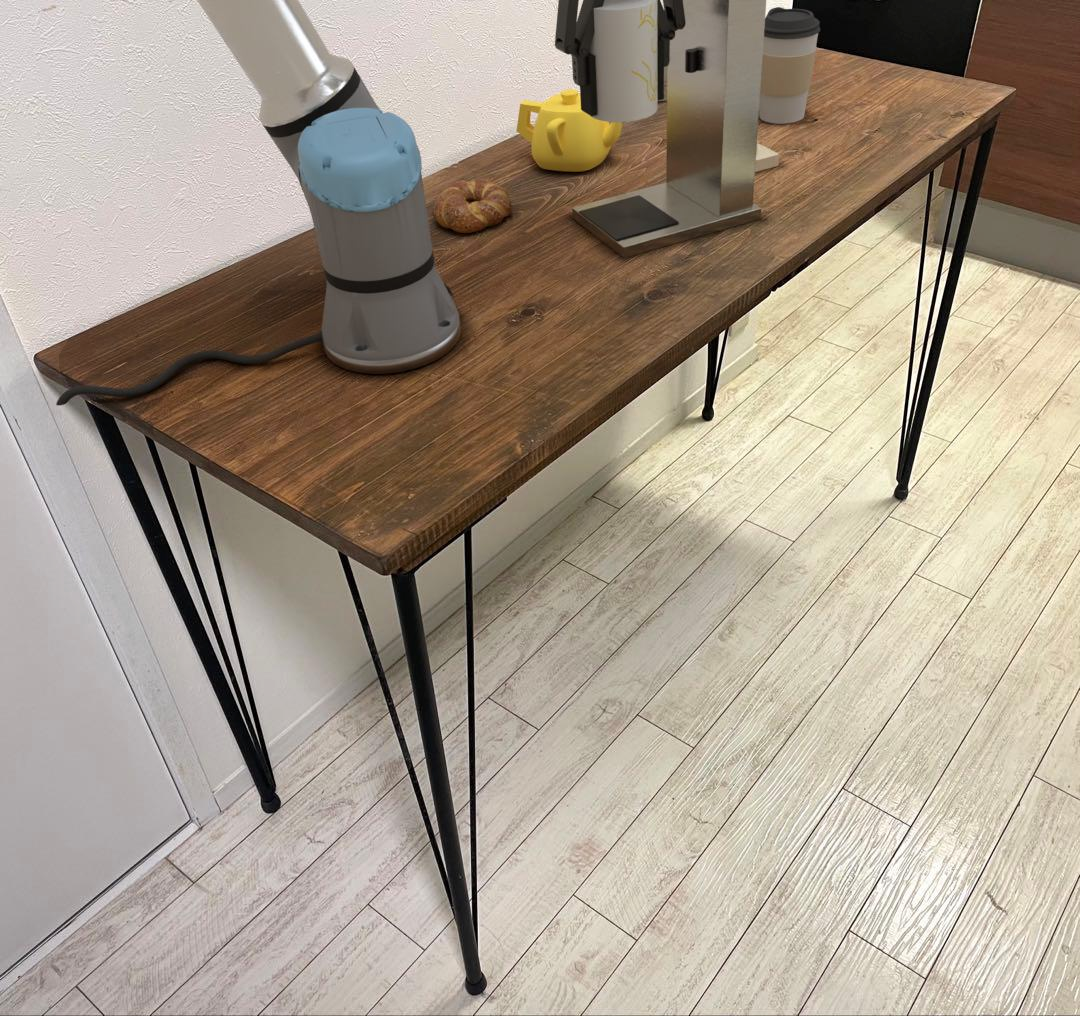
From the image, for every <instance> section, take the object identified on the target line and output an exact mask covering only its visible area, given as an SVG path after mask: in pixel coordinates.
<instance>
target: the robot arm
mask: <svg viewBox="0 0 1080 1016" xmlns="http://www.w3.org/2000/svg"><path fill="white" fill-rule="evenodd" d="M196 1H197V3H198V4H199V5H200V8H201V9H202V10H203V12H204V14H205V15H206V16H207V18H208V19H209V21H210V22H211V24H212V25H213V27H214V28H215V30H216V31H217V33H218V34H219V36H220V37H221V39H222V40H223V42H224V43H225V45H226V46H227V48H228V49H229V51H230V52H231V54H232V55H233V57H234V58H235V60H236V61H237V63H238V65H239V67H240V68H241V69H242V70H243V72H244V73H245V75H246V77H247V78H248V79H249V81H250V82H251V85H252V86H253V87H254V88H255V90H256V92H257V93H258V95H259V96H260V98H261V100H260V101H261V103H260V108H259V115H258V119H259V121H260V123H261V124H262V127H263V128H264V129H265V131H266V132H267V134H268V135H269V137H270V138H271V140H272V141H273V143H274V145H276V147H277V149H278V150H279V152H280V153H281V154H282V156H283V158H284V159H285V161H286V162H287V164H288V165H289V167H290V168H291V170H292V171H293V174H294V175H295V176H296V178H297V180H298V183H299V186H300V187H301V190H302V193H303V196H304V199H305V200H306V203H307V206H308V208H309V209H308V210H309V212H310V216H311V219H312V224H313V227H314V232H315V236H316V241H317V245H318V250H319V254H320V255H319V256H320V259H321V262H322V263H321V264H322V267H323V272H324V276H325V281H326V288H325V290H326V291H325V296H324V306H323V313H322V322H321V331H319V332H316V333H314V334H312V335H308V336H306V337H305V336H304V337H302V338H300V339H297V340H295V341H291V342H290V343H287V344H285V345H282V346H280V347H278V348H276V349H273V350H271V351H269V352H267V353H266V352H265V353H263V354H258V355H242V354H237V353H233V352H229V351H223V350H214V349H213V350H212V349H210V350H203V351H198V352H194V353H191V354H188V355H186V356H184V357H182V358H180V359H179V360H177V361H175V362H173V364H171V365H170V366H169V367H168V368H166V369H165V370H164V371H163V372H162V373H160V374H159V375H157V376H156V377H155V378H153V379H152V380H151V379H150V381H148V382H145V383H142V384H140V385H138V386H137V385H136V386H133V387H109V386H101V385H89V384H87V385H78V386H74V387H72V388H71V387H70V388H69V389H67V390H66V391H64V392H63V393H62V394H61V395H60V396H59V397H58V399H57V400H56V406H59V407H60V406H64V405H66V404H68V402H69V401H70V400H72V399H73V398H74V397H77V396H79V395H98V396H105V397H116V398H117V397H118V398H119V397H120V398H121V397H122V398H126V397H127V398H128V397H135V396H139V395H142V394H145V393H148V392H151V391H152V390H153V391H154V390H155V389H157V388H159V387H160V386H162V385H163V384H165V383H166V382H167V381H168V380H170V379H171V378H173V376H174V375H175V374H177V373H178V372H179V371H181V370H182V369H184V368H185V367H186V366H189V365H190V364H193V363H195V362H199V361H204V360H208V359H209V360H210V359H217V360H223V361H229V362H233V363H236V364H241V365H242V364H243V365H258V364H264V363H268V362H270V361H271V362H272V361H273V360H276V359H278V358H281V357H282V356H284V355H287V354H289V353H291V352H293V351H296V350H299V349H301V348H304V347H307V346H309V345H313V344H315V343H318V342H321V341H322V345H323V348H324V352H325V355H326V357H327V358H328V359H329V360H330V361H331V362H332V363H333V364H335V365H337V366H338V367H340V368H342V369H344V370H348V371H352V372H355V373H359V374H369V375H370V374H372V375H373V374H374V375H383V374H395V373H401V372H406V371H410V370H414V369H417V368H421V367H423V366H426V365H428V364H430V363H433V362H435V361H437V360H439V359H440V358H442V357H443V356H445V355H447V354H448V353H449V352H450V351H451V350H452V349H453V348H454V347H455V346H456V344H457V343H458V341H459V340H460V337H461V334H462V328H461V327H462V326H461V320H460V313H459V311H458V309H457V306H456V304H455V302H454V300H453V298H454V299H456V298H455V295H454V293H453V292H452V289H451V287H450V286H448V285H447V284H446V283H445V282H444V281H443V279H442V277H441V275H440V273H439V271H438V269H437V267H436V263H435V256H434V251H433V243H432V242H433V241H432V237H431V230H430V224H429V222H430V221H429V216H428V209H427V202H426V194H425V188H424V181H423V174H422V169H423V165H422V156H421V150H420V148H419V146H418V144H417V140H416V139H417V138H416V136H415V133H414V131H413V129H412V127H411V126H410V124H409V123H408V122H407V121H406V120H405V119H403V118H402V117H401V116H399V115H397V114H395V113H394V112H391V111H386V112H384V111H383V110H382V109H380V107H379V106H378V105H377V103H376V102H375V100H374V98H373V96H372V95H371V93H370V91H369V89H368V88H367V86H366V85H365V82H364V81H363V79H362V78H361V76H360V74H359V73H358V71H357V69H356V68H355V66H354V64H353V62H352V61H351V60H350V59H348V58H346V57H342V56H337V55H334V54H332V53H330V51H329V49H328V48H327V46H326V44H325V42H324V41H323V40H322V37H321V36H320V34H319V33H318V31H317V29H316V27H315V26H314V24H313V23H312V21H311V19H310V17H309V16H308V14H307V12H306V10H305V9H304V7H303V6H302V4H301V2H300V1H299V0H196ZM579 1H580V0H558V2H557V3H558V5H557V14H556V26H555V37H554V47H555V49H556V50H558V51H560V52H562V53H563V54H566V55H570V56H571V66H572V68H571V69H572V70H571V71H572V80H573V83H574V84H575V85H577V86H578V87H579V93H580V98H581V110H582V111H584V112H585V113H587V114H589V115H590V116H595V115H597V93H596V66H595V56H594V55H592V54H590V53H588V52H589V49H590V46H591V43H592V39H593V36H594V33H595V27H594V8H598V7H603V4H604V1H605V0H582V3H581V6H580V9H579V4H580V3H579ZM578 12H579V13H578ZM685 24H686V21H685V14H684V6H683V0H662V1H661V0H657V81H658V100H661V99H664V67H666V66H668V65H669V62H670V40H672V39H673V38H674V37H675V31H677V30H678V29H680V30H681V29H683V28H684V27H685Z"/></svg>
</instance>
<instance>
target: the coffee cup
mask: <svg viewBox="0 0 1080 1016" xmlns="http://www.w3.org/2000/svg"><path fill="white" fill-rule="evenodd" d="M820 32H821V27H820V20H819V19H818V18H816V17H815V15H814V12H813V11H810V10H808V9H803V8H784V7H782V6H777V7H773V8H770V9H769V10H768V12H767V14H766V15H765V28H764V43H763V58H762V73H761V88H760V103H759V119H760V120H762V121H763V122H765V123H769V124H776V125H777V124H778V125H781V124H783V125H785V124H791V123H796V122H800V121H801V120H803V119H804V118H805V114H806V108H807V103H808V102H807V101H808V96H809V91H810V90H811V84H812V78H813V73H814V67H815V62H816V55H817V50H818V47H817V43H818V36H819V33H820Z"/></svg>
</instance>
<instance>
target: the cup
mask: <svg viewBox="0 0 1080 1016" xmlns="http://www.w3.org/2000/svg"><path fill="white" fill-rule="evenodd" d="M594 27H595V33H594V36H593V39H592V43H591V46H590V49H589V52H588V53H590V54H592V55H594V56H595V66H596V93H597V115H595V116H591V117H593V118H595V119H597V120H601V121H606V122H609V123H611V122H622V123H628V122H629V123H630V122H636V121H641V120H643V119H644V120H645V119H648V118H649V117H651V116H653V115H655V114H656V113H657V111H658V105H659V104H658V102H659V101H658V81H657V0H605V1H604V4H603V7H598V8H594Z"/></svg>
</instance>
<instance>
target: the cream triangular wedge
mask: <svg viewBox="0 0 1080 1016" xmlns="http://www.w3.org/2000/svg"><path fill="white" fill-rule="evenodd" d="M779 165H780V153H779V152H776V151H774V150H772V149H770V148H769V147H766V146H765V145H763V144H761V143H759V141H758V140H757V148H756V163H755V173H758V172H760V171H766V170H768V169H772V168H776V167H779Z"/></svg>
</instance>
